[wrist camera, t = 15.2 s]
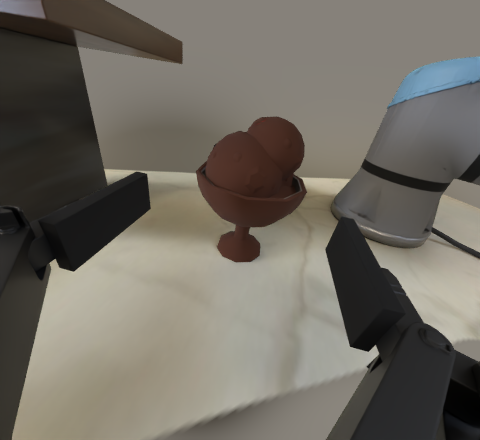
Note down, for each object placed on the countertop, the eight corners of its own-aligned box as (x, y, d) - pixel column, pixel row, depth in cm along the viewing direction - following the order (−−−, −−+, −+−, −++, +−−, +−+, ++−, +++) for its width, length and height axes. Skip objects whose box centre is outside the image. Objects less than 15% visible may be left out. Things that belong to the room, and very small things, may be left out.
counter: (183, 201, 33) (182, 41, 23) (113, 271, 20) (31, -40, 9) (88, 179, 35) (46, 20, 24) (-37, 231, 21) (-259, -78, 11)
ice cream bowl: (251, 217, 32) (274, 110, 24) (300, 266, 24) (357, 132, 16) (184, 228, 27) (184, 99, 19) (217, 295, 19) (241, 122, 11)
